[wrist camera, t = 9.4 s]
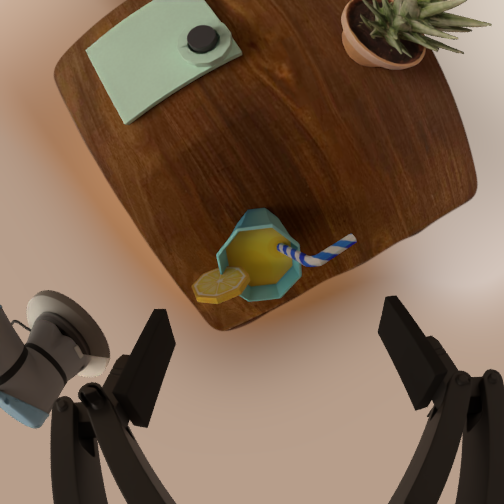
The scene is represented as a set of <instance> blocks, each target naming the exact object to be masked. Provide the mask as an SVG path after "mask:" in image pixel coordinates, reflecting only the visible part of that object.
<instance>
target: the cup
mask: <svg viewBox="0 0 504 504" xmlns="http://www.w3.org/2000/svg"><path fill="white" fill-rule="evenodd" d="M355 243H356V238H355V237H354V235H352V234H349V235H347V236H346V237H344V238H342V239H341V240H339V241H338V242H336V243H334V244H333V245H331V246H330V247H328V248H326V249H325V250H323V251H322V252H320V253H318V254H317V255H314V256H308V255H306V254H304V253H302V252H300V245H299V243H298V242H297V241H296V240H294V239H293V238H292V237H290V235H289V234H288V232H287V231H286V229H285V228H284V226H283V225H282V223H281V221H280V220H279V218H278V217H276V216H275V215H274V214H272V213H271V212H270V211H269V210H267V209H266V208H259V209H251V210H247V212H246V213H245V214H244V215H243V217H242V218H241V219H240V220H239V222H238V223H237V225H236V227H235V229H234V230H233V232H232V234H231V236H230V237H229V239H228V240H227V241H226V242H225V244H224V245H223V246H222V248H221V249H220V250H219V252H218V253H217V254H216V256H217V261H218V266H219V268H216V269H214V270H211V271H208V272H206V273H203V274H202V275H201V276H200V277H199V278H198V279H197V280H196V281H195V282H194V283H193V285H192V286H191V287H192V289H193V292H194V294H195V297H196V299H197V301H198V302H203V303H213V304H219V303H222V302H224V301H226V300H229V299H231V298H234V297H236V296H238V295H239V296H240V297H242V298H244V299H245V300H247V301H248V302H251V301H261V300H270V299H279V298H281V297H282V296H283V295H284V294H285V293H286V292H287V291H288V290H289V289H290V288H291V287H292V286H293V285H294V284H295V282H296V281H297V280H298V279H299V278H300V277H301V276H302V271H301V264H302V265H304V266H306V267H315V266H321V265H323V264H325V263H326V262H328V261H329V260H331V259H332V258H334V257H335V256H337V255H338V254H340V253H341V252H343V251H344V250H346V249H347V248H349V247H350V246H352V245H353V244H355Z"/></svg>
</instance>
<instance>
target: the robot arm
mask: <svg viewBox="0 0 504 504" xmlns="http://www.w3.org/2000/svg"><path fill="white" fill-rule="evenodd" d="M14 323H18V324H19V325H21V326H22V327H23V328H25V329H26V330H28V331H30V335H29V338H28V341H27V343H26V344H25V345H24V344H23V342H22V341H21V339H20V338H19V336H18V334H17V333H16V331H15V330H14V328H13V326H12V325H13V324H14ZM378 334H379V336H380V337H381V340H382V341H383V343H384V345H385V347H386V349H387V351H388V353H389V355H390V357H391V359H392V361H393V363H394V365H395V367H396V369H397V371H398V374H399V376H400V378H401V380H402V382H403V384H404V386H405V388H406V390H407V393H408V395H409V397H410V399H411V402H412V404H413V406H414V408H415V410H419V409H422V408H425V407H427V406H428V405H429V404H430V402H431V400H432V401H433V403H434V406H433V408H432V409H431V411H430V412H429V414H428V415H427V417H429V419H428V422H427V425H426V427H425V430H424V432H423V435H422V437H421V440H420V442H419V445H418V447H417V449H416V451H415V454H414V456H413V458H412V460H411V462H410V465H409V466H408V468H407V470H406V472H405V475H404V477H403V478H402V480H401V482H400V484H399V486H398V488H397V489H396V491H395V493H394V495H393V496H392V498H391V500H390V501H389V503H388V504H437V502H438V500H439V498H440V495H441V493H442V491H443V488H444V486H445V484H446V481H447V479H448V476H449V473H450V471H451V468H452V465H453V462H454V459H455V456H456V453H457V450H458V447H459V443H460V440H461V436H462V432H463V441H462V458H461V469H460V478H459V485H458V492H457V498H456V503H455V504H504V385H503V380H502V377H501V375H500V374H499V372H497V371H496V370H491V369H490V370H487V371H486V372H485V373H484V375H483V376H482V377H471V376H470V375H469V374H468V373H466V372H464V371H458V369H457V368H456V366H455V365H454V363H453V361H452V360H451V358H450V357H449V356H448V354H447V353H446V351H445V350H444V348H443V347H442V345H441V344H440V343H439V341H438V340H437V339H435V338H434V337H432V336H428V337H426V336H425V335H424V333H423V332H422V331H421V329H420V328H419V326H418V325H417V323H416V322H415V321H414V319H413V318H412V316H411V315H410V314H409V312H408V311H407V309H406V308H405V307H404V305H403V304H402V303H401V301H400V300H399V299H398V297H397V296H388V297H385V302H384V307H383V311H382V316H381V320H380V324H379V329H378ZM175 344H176V343H175V340H174V336H173V333H172V329H171V326H170V323H169V319H168V315H167V311H166V309H154V311H153V312H152V314H151V316H150V318H149V320H148V322H147V324H146V326H145V327H144V329H143V331H142V333H141V335H140V337H139V339H138V341H137V343H136V345H135V346H134V349H133V350H132V353H131V354H130V355H122V356H121V357H120V358H118V360H116V362H115V364H114V366H113V369H112V370H111V372H110V374H109V375H108V377H107V379H106V381H105V383H104V385H103V387H101V386H100V384H97V383H93V382H91V383H87V384H85V385H84V386H82V387H81V389H80V390H79V392H78V397H79V399H80V400H81V401H82V402H78V403H74V402H73V401H72V399H71V398H69V397H67V396H63V397H60V398H58V397H59V395H60V393H61V391H62V390H63V388H64V386H65V385H66V383H67V381H68V380H70V379H71V378H73V377H74V376H75V375H77V374H78V373H79V372H80V371H82V370H84V369H85V368H86V366H87V365H88V363H89V362H90V359H91V353H90V349H89V346H88V344H87V342H86V340H85V339H84V337H83V336H82V335H81V333H80V332H79V331H78V330H77V329H76V328H75V327H74V326H73V325H72V324H71V323H70V322H69V321H68V320H66V319H65V318H63V317H62V316H60V315H58V314H56V313H53V312H43V313H41V314H40V315H39V316H38V317H37V319H36V320H35V322H34V325H33V328H32V329H30V328H28V327H26V326H25V325H24V324H22V323H21V322H20V321H18V320H13V321H12V322H11V323H10V321H9V320H8V318H7V316H6V314H5V313H4V311H3V309H2V306H1V305H0V407H1V408H2V409H3V410H4V411H5V412H6V413H8V414H9V415H10V416H12V417H13V418H15V419H16V420H18V421H19V422H21V423H22V424H24V425H26V426H29V427H31V428H40V427H41V426H42V424H43V423H44V421H45V420H46V419H47V417H48V416H49V413H50V411H51V409H52V420H51V479H52V491H53V500H54V504H108V502H107V498H106V493H105V488H104V483H103V477H102V472H101V465H100V459H99V451H98V443H99V445H100V448H101V450H102V452H103V455H104V457H105V459H106V462H107V464H108V466H109V468H110V470H111V473H112V475H113V477H114V479H115V481H116V483H117V485H118V487H119V489H120V491H121V493H122V495H123V496H124V498H125V500H126V502H127V504H176V503H175V501H174V500H173V499H172V497H171V496H170V494H169V493H168V492H167V490H166V489H165V487H164V486H163V484H162V483H161V481H160V480H159V478H158V477H157V475H156V474H155V472H154V470H153V469H152V468H151V466H150V464H149V462H148V461H147V459H146V457H145V455H144V454H143V452H142V450H141V448H140V447H139V445H138V443H137V441H136V440H135V438H134V436H133V434H132V432H131V430H130V428H129V427H128V423H129V420H130V421H131V422H132V423H133V425H135V426H140V427H146V428H147V427H148V425H149V421H150V418H151V415H152V412H153V409H154V406H155V402H156V400H157V397H158V394H159V391H160V388H161V385H162V382H163V379H164V376H165V373H166V370H167V367H168V364H169V362H170V358H171V356H172V353H173V350H174V347H175ZM97 440H98V442H97Z"/></svg>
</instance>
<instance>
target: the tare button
mask: <svg viewBox="0 0 504 504" xmlns="http://www.w3.org/2000/svg"><path fill="white" fill-rule="evenodd" d="M187 41H188V43H189V45H190V46H191V47H192V49H193V50H195V51H196V52H201V53H202V52H208V51H210V50H212V49H213V48H214V47H215V46H216V44H217V41H218V39H217V35H216V33H215V31H214V29H213V28H212V27H210V26H207V25H199V26H196V27H194V28H193V29H191V30H190V32H189V33H188V35H187Z"/></svg>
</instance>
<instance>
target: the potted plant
mask: <svg viewBox="0 0 504 504" xmlns="http://www.w3.org/2000/svg"><path fill="white" fill-rule="evenodd" d="M466 1H467V0H448V1H447V0H350V2H349V3H348V4H347V5H346V7H345V8H344V11H343V13H342V17H341V22H342V26H343V32H342V43H343V45H344V48H345V50H346V53H347V54H348V55H349V57H350V58H352V59H353V60H354V61H355V62H357V63H359V64H360V65H363V66H367V67H384V68H387V69H392V70H402V69H406V68H409V67H412V66H415V65H417V64H418V63H419V62H420V61H421V60H422V59H423V57H424V55H425V51H426V48H429V49H431V50H434V51H438V50H439V48H443V49H446V50H450V51H453V52H456V53H462V54H464V52H462V51H459V50H457V49H454V48H452V47H450V46H447V45H445V44H443V43H441V42H438V41H436V40H433V39H431V38H429V37H426V36H424V34H428V35H431V36H437V37H441V38H448V39H458V38H457V37H455V36H452V35H449V34H446V33H444V32H442V31H445V32H446V31H447V32H470V31H472V30H470V29H467V28H463V27H483V26H487V25H489V26H491V24H490V23H486V22H481V21H478V20H474V19H470V18H466V17H462V16H458V15H454V14H450V13H445V12H444V11H446V10H449V9H452V8H454V7H456V6H459V5H460V4H462V3H464V2H466ZM438 47H439V48H438ZM437 49H438V50H437Z"/></svg>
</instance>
